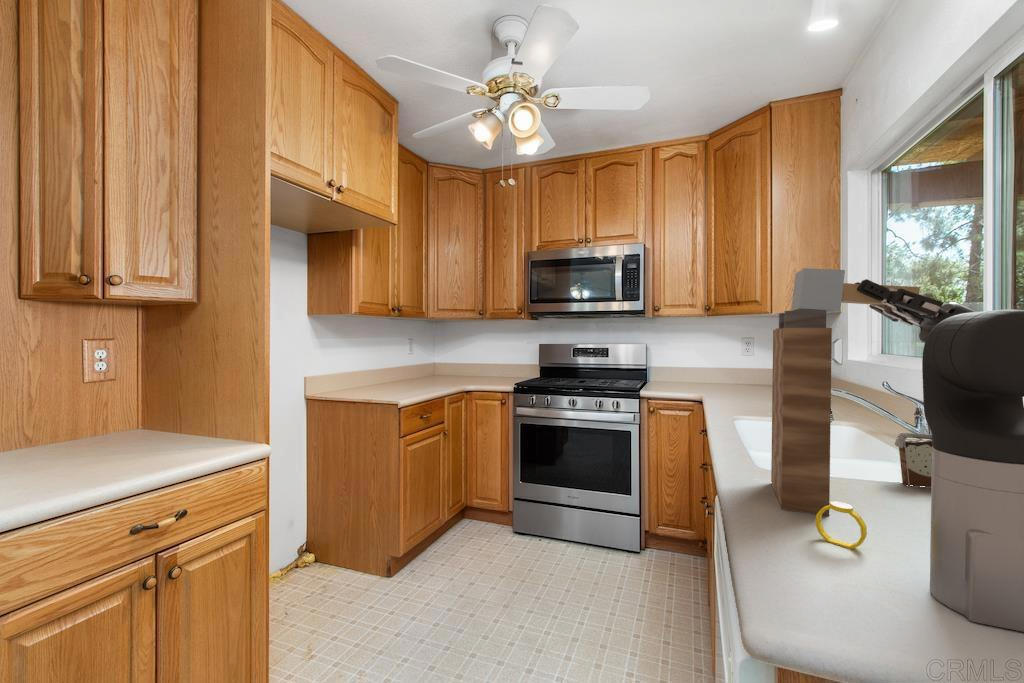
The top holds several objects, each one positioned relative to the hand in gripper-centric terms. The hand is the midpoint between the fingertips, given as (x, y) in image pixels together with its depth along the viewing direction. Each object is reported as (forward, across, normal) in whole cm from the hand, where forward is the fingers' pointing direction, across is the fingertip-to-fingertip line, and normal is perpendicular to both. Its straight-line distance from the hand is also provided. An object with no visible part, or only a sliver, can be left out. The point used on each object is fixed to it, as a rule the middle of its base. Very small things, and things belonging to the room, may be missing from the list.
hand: (856, 286), depth 78 cm
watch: (-14, -15, -38) cm, 43 cm away
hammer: (-2, 0, -5) cm, 5 cm away
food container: (-36, +26, -24) cm, 51 cm away
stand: (-13, +6, -38) cm, 40 cm away
